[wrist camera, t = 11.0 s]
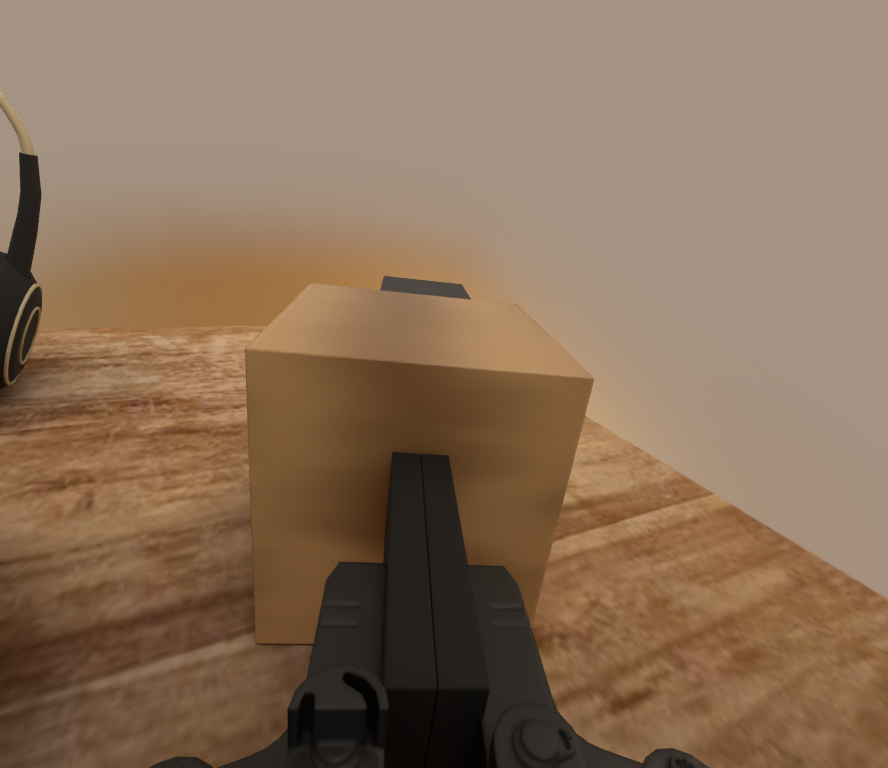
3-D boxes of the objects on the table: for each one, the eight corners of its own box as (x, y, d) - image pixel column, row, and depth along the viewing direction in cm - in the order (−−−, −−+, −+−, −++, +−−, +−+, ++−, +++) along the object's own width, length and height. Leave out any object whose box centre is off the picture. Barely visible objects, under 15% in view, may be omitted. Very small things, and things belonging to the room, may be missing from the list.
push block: (484, 493, 24) (518, 304, 21) (526, 647, 16) (595, 377, 13) (307, 484, 23) (310, 282, 20) (255, 644, 15) (243, 347, 11)
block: (452, 357, 45) (462, 284, 42) (460, 385, 38) (472, 300, 36) (378, 351, 44) (384, 275, 41) (373, 378, 38) (380, 291, 35)
